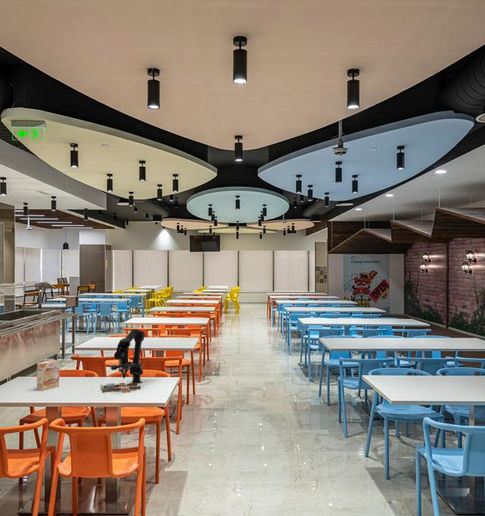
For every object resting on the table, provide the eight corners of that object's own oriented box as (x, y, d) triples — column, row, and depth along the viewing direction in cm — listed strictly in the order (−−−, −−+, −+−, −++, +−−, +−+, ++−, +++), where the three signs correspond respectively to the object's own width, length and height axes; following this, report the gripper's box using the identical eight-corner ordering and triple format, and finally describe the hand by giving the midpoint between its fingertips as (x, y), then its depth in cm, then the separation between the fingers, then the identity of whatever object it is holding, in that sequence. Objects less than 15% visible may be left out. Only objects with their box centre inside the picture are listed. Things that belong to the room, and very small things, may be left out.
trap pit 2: (121, 390, 350) (121, 388, 350) (128, 390, 352) (128, 388, 352) (122, 392, 345) (122, 390, 345) (129, 391, 347) (129, 389, 347)
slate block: (106, 389, 356) (106, 383, 356) (114, 388, 357) (114, 383, 357) (105, 391, 350) (106, 385, 350) (114, 390, 351) (114, 385, 351)
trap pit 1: (118, 385, 367) (118, 383, 367) (125, 384, 368) (125, 382, 368) (119, 386, 362) (119, 384, 362) (126, 386, 364) (126, 384, 364)
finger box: (100, 388, 357) (100, 384, 357) (137, 385, 367) (137, 381, 367) (102, 392, 345) (102, 388, 345) (140, 389, 355) (140, 385, 355)
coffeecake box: (43, 390, 350) (43, 363, 350) (36, 389, 353) (36, 362, 353) (59, 386, 363) (59, 360, 363) (52, 385, 366) (53, 359, 367)
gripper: (112, 359, 346) (112, 381, 346) (138, 358, 353) (138, 379, 353) (110, 357, 357) (110, 378, 356) (136, 355, 364) (136, 376, 363)
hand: (123, 378), depth 357 cm, fingers closed
